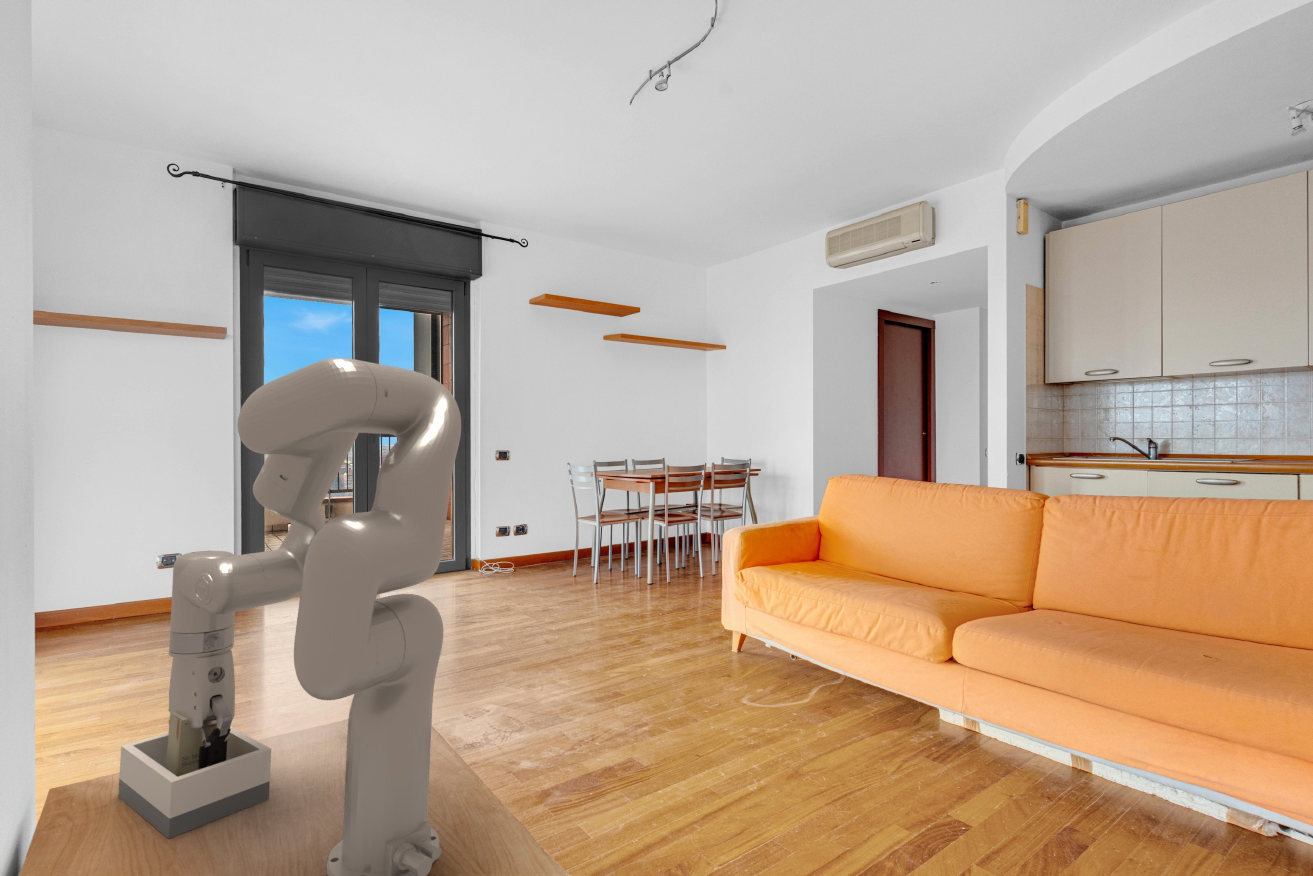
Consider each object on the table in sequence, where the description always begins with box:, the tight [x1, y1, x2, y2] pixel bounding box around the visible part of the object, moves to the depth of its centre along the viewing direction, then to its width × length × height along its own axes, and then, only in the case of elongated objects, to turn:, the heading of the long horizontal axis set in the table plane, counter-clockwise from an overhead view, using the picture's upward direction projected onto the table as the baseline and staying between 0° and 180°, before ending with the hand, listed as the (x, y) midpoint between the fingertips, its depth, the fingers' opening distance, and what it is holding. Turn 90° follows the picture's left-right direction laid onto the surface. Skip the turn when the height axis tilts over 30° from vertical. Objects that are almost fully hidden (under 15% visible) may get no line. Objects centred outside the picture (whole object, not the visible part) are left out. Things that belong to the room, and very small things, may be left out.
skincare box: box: [166, 712, 228, 777], centre depth 91 cm, size 6×4×12 cm
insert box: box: [117, 726, 272, 840], centre depth 91 cm, size 17×12×7 cm
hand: (196, 762), depth 91 cm, fingers open, 9 cm apart
